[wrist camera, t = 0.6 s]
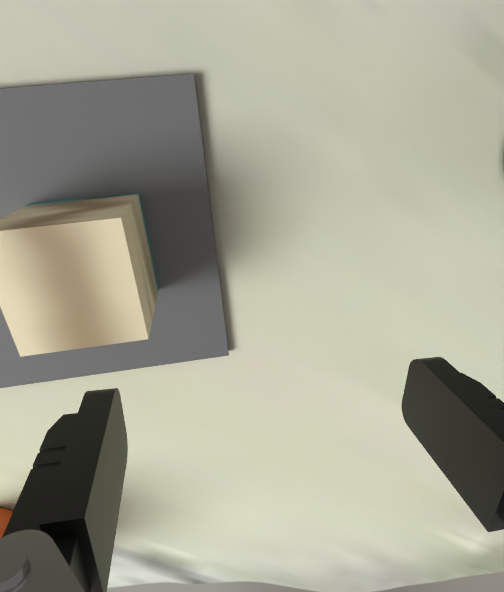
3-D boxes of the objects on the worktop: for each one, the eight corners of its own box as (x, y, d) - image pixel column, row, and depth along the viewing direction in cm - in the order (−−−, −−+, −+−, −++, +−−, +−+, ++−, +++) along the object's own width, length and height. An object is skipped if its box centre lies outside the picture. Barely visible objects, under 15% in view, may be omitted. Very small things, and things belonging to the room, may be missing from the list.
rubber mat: (193, 74, 23) (193, 73, 23) (228, 351, 32) (228, 355, 31) (-303, 112, 21) (-316, 112, 21) (-123, 401, 30) (-128, 406, 29)
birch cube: (139, 192, 25) (120, 217, 19) (158, 289, 28) (148, 339, 22) (27, 204, 25) (-29, 233, 18) (59, 302, 28) (20, 356, 21)
